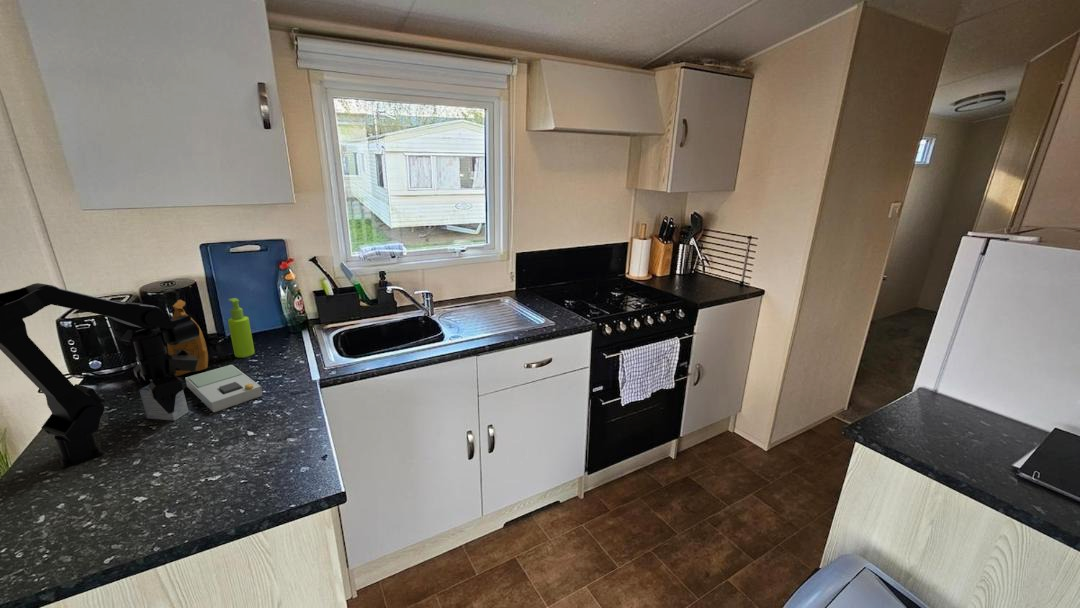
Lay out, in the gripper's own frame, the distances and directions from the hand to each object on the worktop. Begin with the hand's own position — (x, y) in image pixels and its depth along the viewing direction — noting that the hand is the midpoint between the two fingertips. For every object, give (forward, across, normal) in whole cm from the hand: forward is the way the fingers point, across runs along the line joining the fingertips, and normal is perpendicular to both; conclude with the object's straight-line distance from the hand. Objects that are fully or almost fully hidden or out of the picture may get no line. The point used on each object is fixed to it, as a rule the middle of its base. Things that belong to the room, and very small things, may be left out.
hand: (165, 406), depth 113 cm
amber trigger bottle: (+3, +29, -13) cm, 32 cm away
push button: (+2, -2, -14) cm, 14 cm away
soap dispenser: (+3, +29, -28) cm, 40 cm away
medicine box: (+3, 0, 0) cm, 3 cm away
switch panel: (+3, +4, -14) cm, 15 cm away
